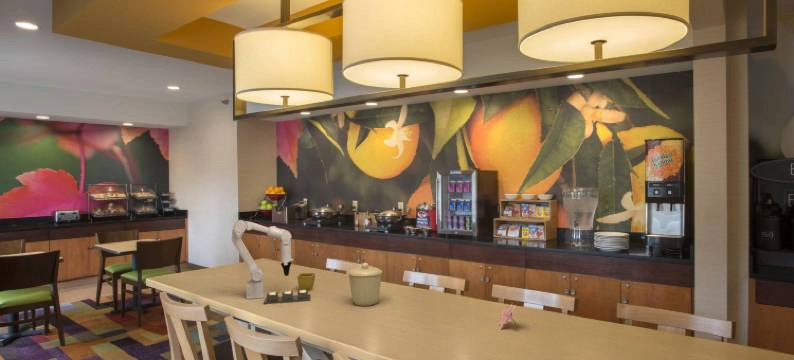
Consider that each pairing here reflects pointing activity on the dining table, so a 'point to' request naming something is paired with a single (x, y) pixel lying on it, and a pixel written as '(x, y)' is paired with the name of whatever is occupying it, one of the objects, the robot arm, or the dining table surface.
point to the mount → (287, 298)
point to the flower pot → (306, 281)
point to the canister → (365, 284)
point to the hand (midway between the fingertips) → (286, 275)
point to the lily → (507, 315)
